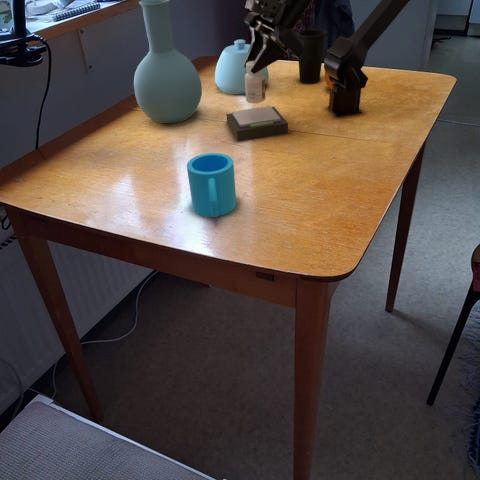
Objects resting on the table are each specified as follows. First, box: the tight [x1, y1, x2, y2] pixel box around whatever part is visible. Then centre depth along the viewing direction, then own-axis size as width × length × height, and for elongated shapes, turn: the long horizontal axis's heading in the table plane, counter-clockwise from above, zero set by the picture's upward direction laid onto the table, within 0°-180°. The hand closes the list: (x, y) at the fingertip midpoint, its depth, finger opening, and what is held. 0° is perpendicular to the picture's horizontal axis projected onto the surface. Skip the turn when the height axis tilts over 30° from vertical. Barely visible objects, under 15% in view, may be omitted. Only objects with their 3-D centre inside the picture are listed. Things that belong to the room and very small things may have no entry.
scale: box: [225, 105, 289, 142], centre depth 113 cm, size 12×11×3 cm
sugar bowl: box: [214, 39, 270, 95], centre depth 132 cm, size 15×15×12 cm
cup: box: [296, 28, 327, 85], centre depth 132 cm, size 8×8×12 cm
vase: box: [133, 0, 203, 124], centre depth 114 cm, size 16×17×25 cm
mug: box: [186, 152, 237, 218], centre depth 85 cm, size 12×8×8 cm
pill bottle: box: [245, 61, 266, 105], centre depth 105 cm, size 4×4×8 cm
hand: (248, 70), depth 103 cm, fingers closed on pill bottle, 3 cm apart
